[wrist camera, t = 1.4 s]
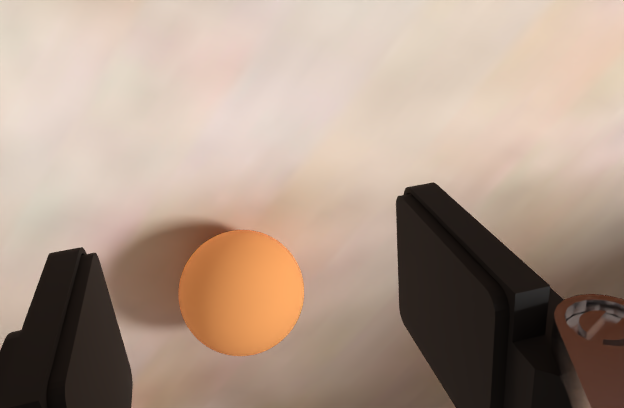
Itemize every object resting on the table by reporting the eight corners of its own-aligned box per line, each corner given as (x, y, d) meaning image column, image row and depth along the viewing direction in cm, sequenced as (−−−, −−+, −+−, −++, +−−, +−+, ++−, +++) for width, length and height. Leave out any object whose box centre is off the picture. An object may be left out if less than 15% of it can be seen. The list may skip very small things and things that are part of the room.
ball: (284, 200, 30) (310, 256, 25) (296, 296, 33) (322, 366, 27) (166, 221, 29) (167, 285, 24) (188, 319, 32) (193, 396, 26)
